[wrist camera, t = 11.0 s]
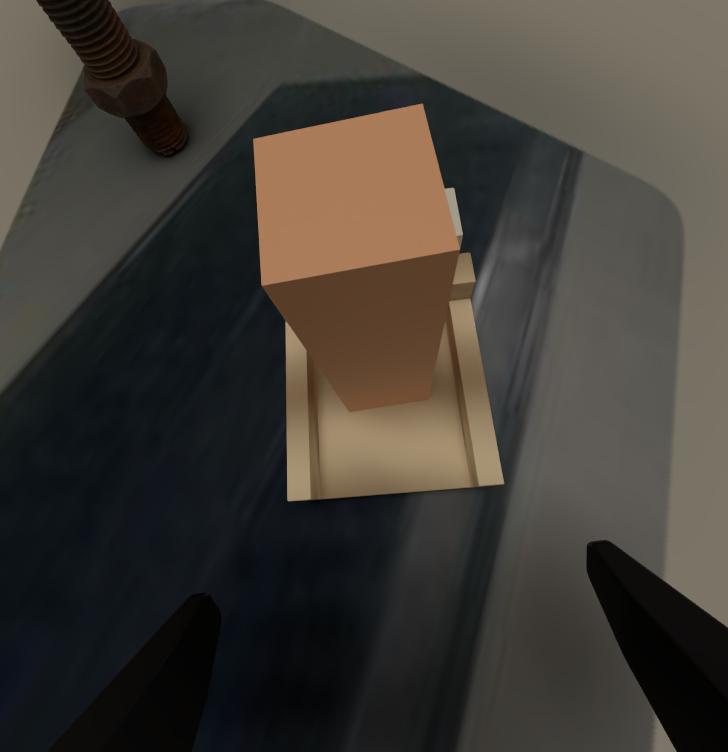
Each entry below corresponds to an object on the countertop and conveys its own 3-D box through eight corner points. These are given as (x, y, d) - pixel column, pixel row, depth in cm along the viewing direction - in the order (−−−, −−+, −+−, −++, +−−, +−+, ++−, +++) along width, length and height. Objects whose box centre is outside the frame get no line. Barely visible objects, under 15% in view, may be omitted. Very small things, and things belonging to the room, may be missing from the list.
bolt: (187, 104, 29) (-24, -273, 15) (218, 140, 27) (14, -241, 13) (122, 144, 28) (-162, -207, 14) (149, 183, 27) (-140, -166, 13)
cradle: (489, 485, 18) (513, 482, 14) (305, 500, 19) (275, 501, 15) (457, 301, 21) (470, 252, 17) (301, 320, 22) (275, 277, 18)
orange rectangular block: (428, 399, 19) (459, 249, 7) (349, 412, 19) (261, 285, 8) (414, 327, 20) (422, 103, 9) (340, 339, 20) (253, 138, 9)
